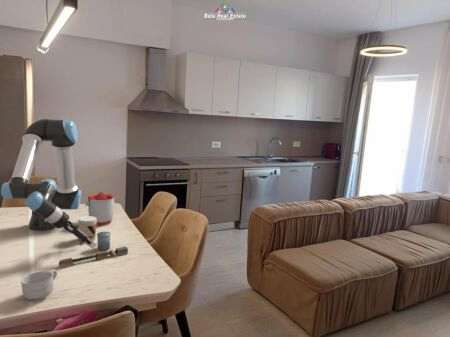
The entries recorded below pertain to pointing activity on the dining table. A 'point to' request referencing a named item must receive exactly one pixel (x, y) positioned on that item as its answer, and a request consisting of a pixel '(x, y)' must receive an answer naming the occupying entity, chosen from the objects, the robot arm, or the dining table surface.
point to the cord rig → (94, 256)
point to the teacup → (38, 284)
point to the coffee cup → (88, 226)
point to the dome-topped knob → (103, 241)
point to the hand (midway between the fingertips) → (90, 242)
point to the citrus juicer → (101, 207)
